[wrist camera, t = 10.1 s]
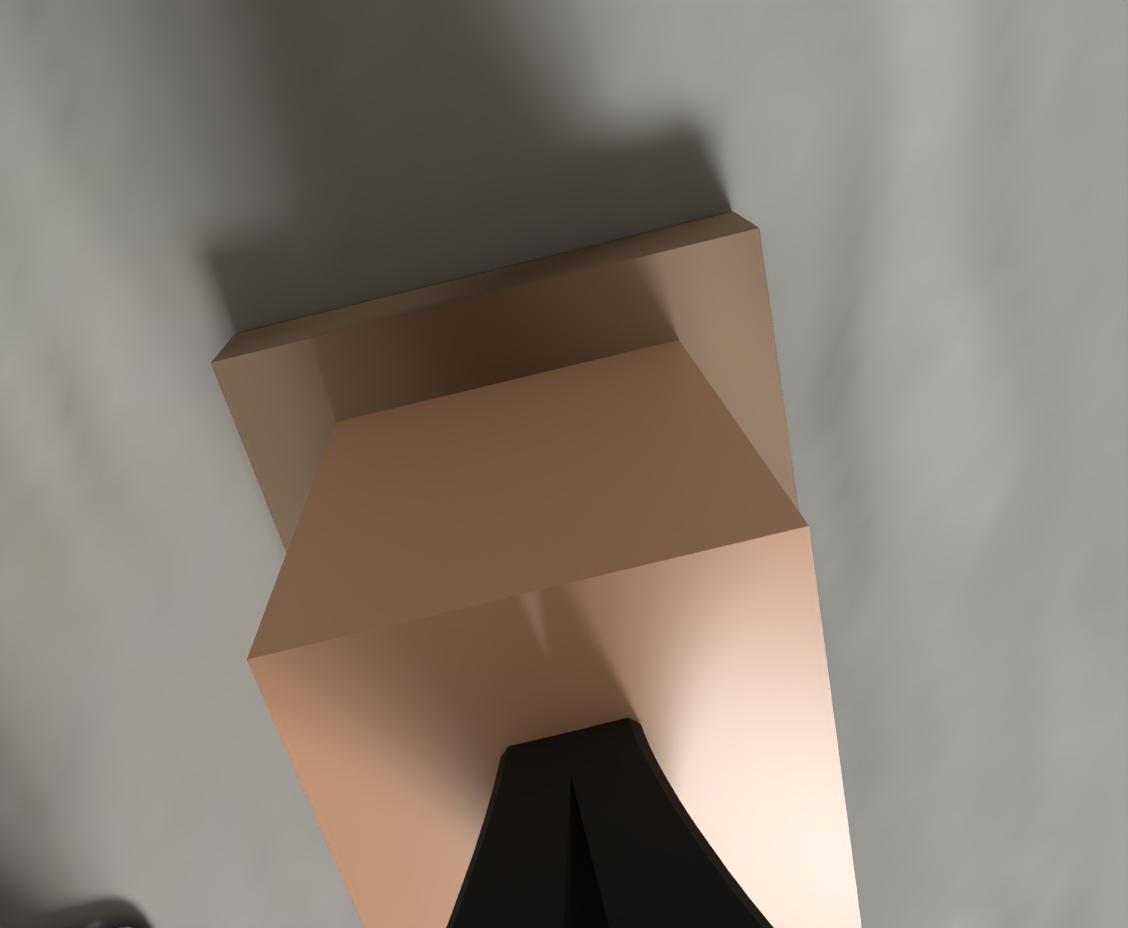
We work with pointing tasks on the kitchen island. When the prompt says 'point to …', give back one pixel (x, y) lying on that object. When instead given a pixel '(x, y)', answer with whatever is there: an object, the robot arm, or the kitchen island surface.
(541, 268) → the stand
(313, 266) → the kitchen island surface
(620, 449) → the peach cube
